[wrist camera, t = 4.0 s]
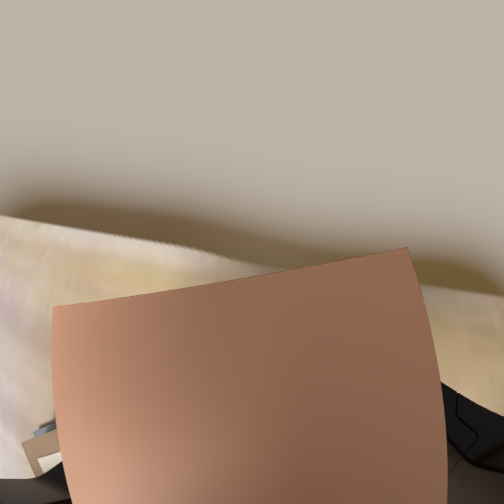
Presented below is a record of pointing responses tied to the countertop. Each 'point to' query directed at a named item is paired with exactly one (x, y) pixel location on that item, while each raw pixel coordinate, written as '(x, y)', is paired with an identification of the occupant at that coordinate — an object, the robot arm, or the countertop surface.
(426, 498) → the terracotta block
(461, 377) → the countertop surface
